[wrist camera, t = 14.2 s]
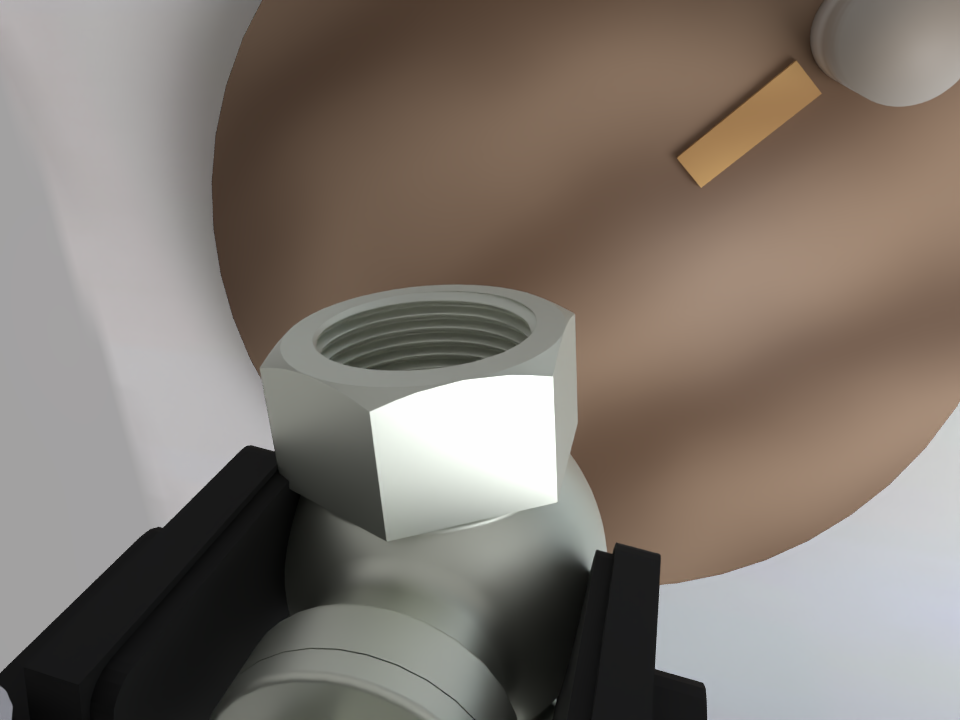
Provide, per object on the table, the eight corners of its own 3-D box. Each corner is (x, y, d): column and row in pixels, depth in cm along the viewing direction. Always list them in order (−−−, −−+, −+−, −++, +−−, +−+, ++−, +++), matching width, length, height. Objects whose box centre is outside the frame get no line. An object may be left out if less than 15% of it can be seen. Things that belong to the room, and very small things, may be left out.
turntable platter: (1176, 309, 21) (1334, 411, 16) (543, 653, 31) (512, 788, 25) (637, -436, 18) (615, -616, 13) (112, 204, 27) (-26, 253, 22)
